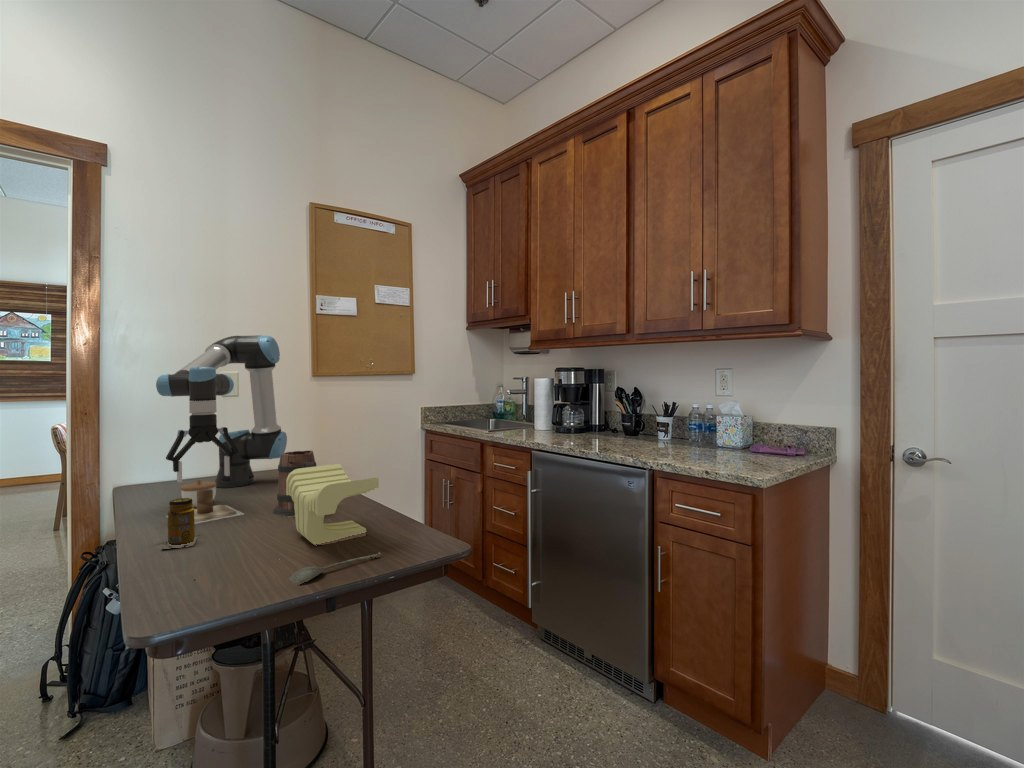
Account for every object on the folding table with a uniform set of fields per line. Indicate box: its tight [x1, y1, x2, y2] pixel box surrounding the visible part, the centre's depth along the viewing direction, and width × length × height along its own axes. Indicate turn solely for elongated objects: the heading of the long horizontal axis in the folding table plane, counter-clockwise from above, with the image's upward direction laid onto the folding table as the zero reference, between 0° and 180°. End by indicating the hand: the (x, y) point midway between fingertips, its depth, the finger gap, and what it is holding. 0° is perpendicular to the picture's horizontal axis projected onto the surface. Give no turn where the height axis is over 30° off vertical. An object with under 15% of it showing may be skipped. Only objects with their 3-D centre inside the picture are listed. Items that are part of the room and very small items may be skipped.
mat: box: [165, 505, 245, 525], centre depth 160 cm, size 18×18×1 cm
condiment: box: [167, 497, 196, 545], centre depth 132 cm, size 7×8×12 cm
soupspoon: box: [288, 552, 382, 584], centre depth 112 cm, size 22×3×7 cm
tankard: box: [272, 450, 317, 516], centre depth 163 cm, size 24×17×20 cm
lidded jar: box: [180, 479, 217, 508], centre depth 174 cm, size 11×11×9 cm
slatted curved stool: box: [286, 463, 380, 546], centre depth 137 cm, size 30×16×18 cm, turn 38°
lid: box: [194, 489, 236, 522], centre depth 160 cm, size 14×14×8 cm
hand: (204, 478), depth 159 cm, fingers open, 13 cm apart
